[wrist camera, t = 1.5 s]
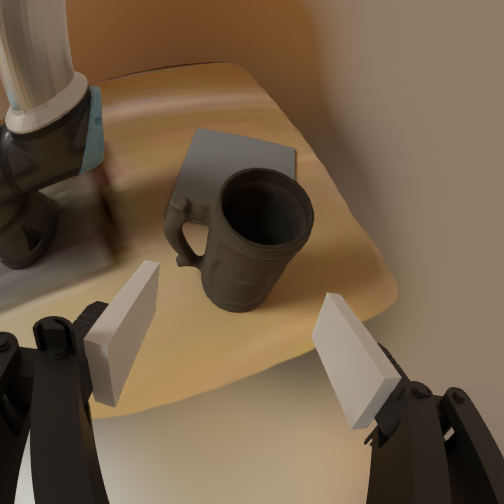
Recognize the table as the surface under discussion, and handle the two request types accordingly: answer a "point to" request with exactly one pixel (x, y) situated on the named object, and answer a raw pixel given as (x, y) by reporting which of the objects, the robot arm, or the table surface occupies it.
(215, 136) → the mat
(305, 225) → the beer stein
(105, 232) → the table surface
